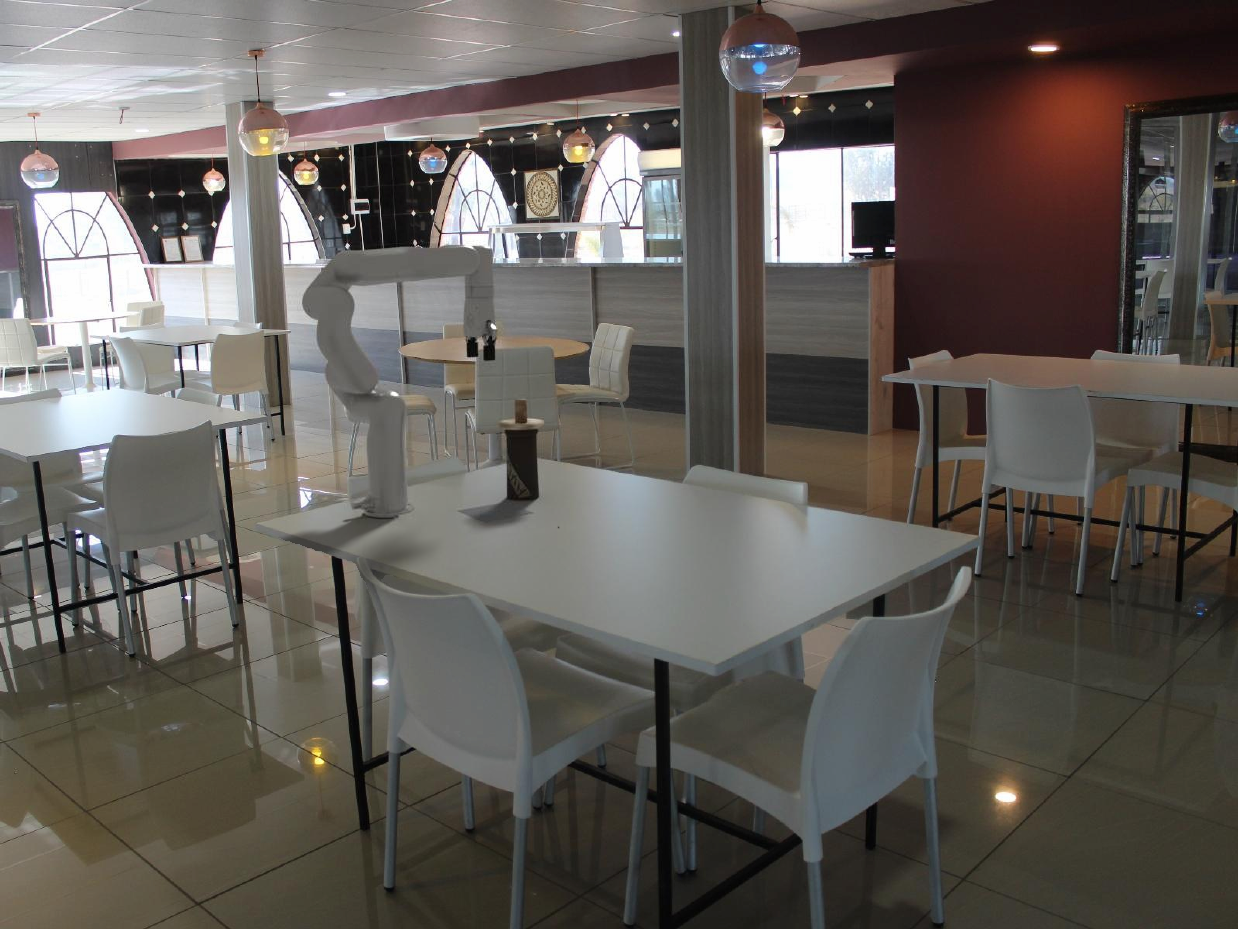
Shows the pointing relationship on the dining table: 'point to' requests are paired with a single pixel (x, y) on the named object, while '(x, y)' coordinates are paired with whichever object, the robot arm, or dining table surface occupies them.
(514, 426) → the lid
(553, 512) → the dining table surface
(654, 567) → the dining table surface
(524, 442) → the container
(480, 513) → the mat
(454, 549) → the dining table surface
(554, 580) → the dining table surface
